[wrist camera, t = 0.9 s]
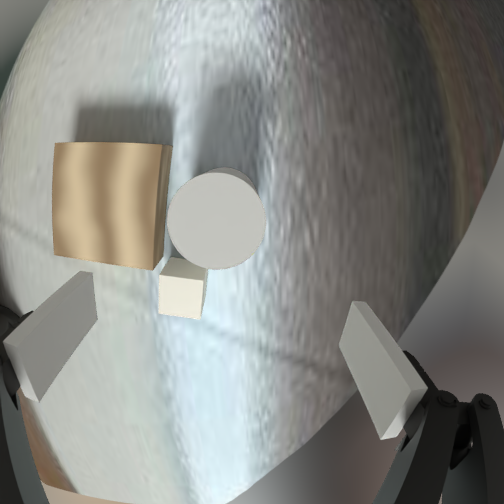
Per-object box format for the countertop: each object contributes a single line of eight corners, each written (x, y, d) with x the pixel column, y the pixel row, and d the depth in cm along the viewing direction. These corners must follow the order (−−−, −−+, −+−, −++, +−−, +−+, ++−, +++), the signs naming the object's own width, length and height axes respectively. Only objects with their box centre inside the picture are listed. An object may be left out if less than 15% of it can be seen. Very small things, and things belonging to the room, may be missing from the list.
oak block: (72, 243, 36) (54, 254, 31) (75, 142, 32) (55, 142, 27) (163, 256, 37) (152, 270, 32) (172, 145, 33) (162, 144, 28)
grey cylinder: (196, 237, 37) (176, 274, 25) (186, 172, 34) (159, 180, 23) (261, 229, 37) (270, 263, 25) (253, 163, 34) (260, 166, 23)
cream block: (169, 291, 39) (158, 313, 33) (170, 256, 37) (159, 274, 32) (205, 296, 39) (200, 319, 34) (208, 261, 38) (203, 280, 32)
